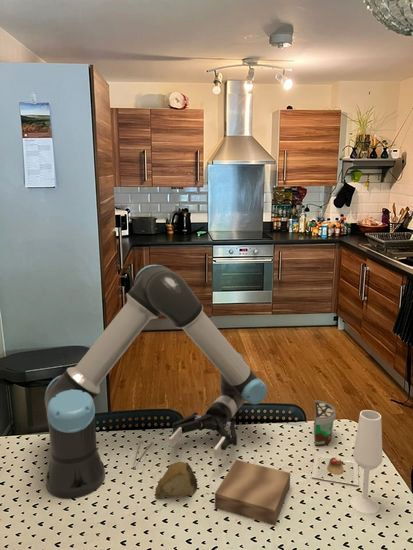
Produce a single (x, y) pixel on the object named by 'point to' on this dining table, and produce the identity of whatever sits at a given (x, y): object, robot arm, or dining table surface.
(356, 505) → the champagne flute
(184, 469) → the rock
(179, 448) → the dining table surface
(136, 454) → the tweezers
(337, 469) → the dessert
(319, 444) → the food container
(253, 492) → the plinth
